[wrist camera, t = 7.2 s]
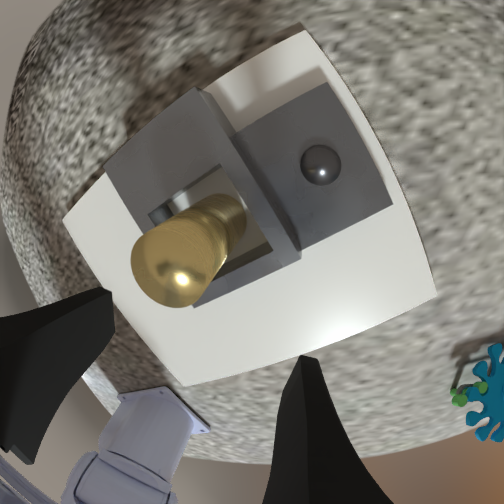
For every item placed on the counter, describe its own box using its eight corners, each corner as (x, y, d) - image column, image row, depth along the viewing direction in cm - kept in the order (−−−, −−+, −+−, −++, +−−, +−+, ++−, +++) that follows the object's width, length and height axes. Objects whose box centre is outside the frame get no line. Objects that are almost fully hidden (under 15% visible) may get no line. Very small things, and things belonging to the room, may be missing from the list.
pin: (213, 254, 17) (162, 318, 11) (185, 210, 17) (117, 254, 10) (257, 230, 16) (223, 290, 10) (227, 182, 16) (172, 213, 9)
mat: (187, 379, 24) (184, 386, 23) (69, 216, 20) (62, 220, 19) (432, 288, 16) (437, 295, 16) (305, 35, 12) (305, 29, 11)
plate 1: (207, 289, 19) (194, 308, 16) (125, 161, 16) (102, 166, 14) (302, 242, 16) (301, 259, 14) (210, 93, 14) (194, 86, 12)
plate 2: (207, 289, 19) (198, 301, 17) (148, 199, 17) (134, 205, 16) (387, 199, 14) (395, 206, 13) (325, 86, 13) (327, 79, 11)
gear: (548, 333, 13) (535, 434, 10) (518, 342, 19) (506, 429, 15) (468, 335, 17) (448, 452, 13) (443, 343, 22) (427, 439, 19)
